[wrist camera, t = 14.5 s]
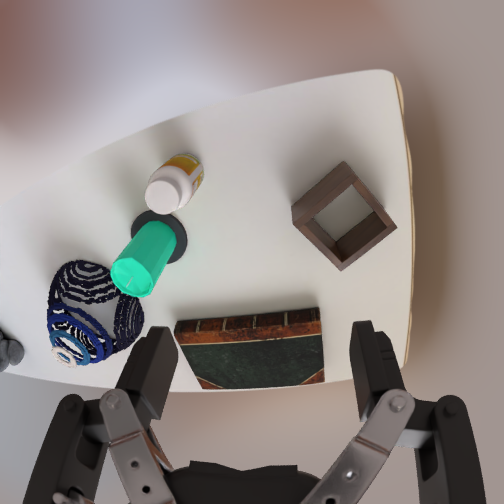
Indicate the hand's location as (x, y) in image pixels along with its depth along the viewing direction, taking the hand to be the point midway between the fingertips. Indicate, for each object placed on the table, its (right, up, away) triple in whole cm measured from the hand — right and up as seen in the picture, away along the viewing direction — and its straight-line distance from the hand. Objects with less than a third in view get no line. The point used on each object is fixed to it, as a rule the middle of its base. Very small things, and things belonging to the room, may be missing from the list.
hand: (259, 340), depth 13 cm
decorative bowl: (-30, -6, +42) cm, 52 cm away
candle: (-14, +6, +32) cm, 36 cm away
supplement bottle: (-9, +15, +27) cm, 32 cm away
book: (0, -14, +44) cm, 46 cm away
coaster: (-14, +6, +33) cm, 36 cm away
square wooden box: (+12, +10, +28) cm, 32 cm away
